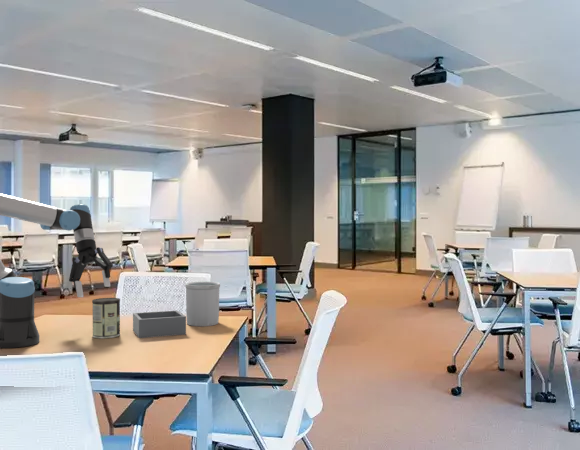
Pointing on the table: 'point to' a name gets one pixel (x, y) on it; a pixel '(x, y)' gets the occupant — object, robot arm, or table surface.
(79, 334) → the table surface
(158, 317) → the bin
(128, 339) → the table surface
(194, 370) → the table surface
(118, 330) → the coffee can
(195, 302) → the utensil holder
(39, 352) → the table surface
